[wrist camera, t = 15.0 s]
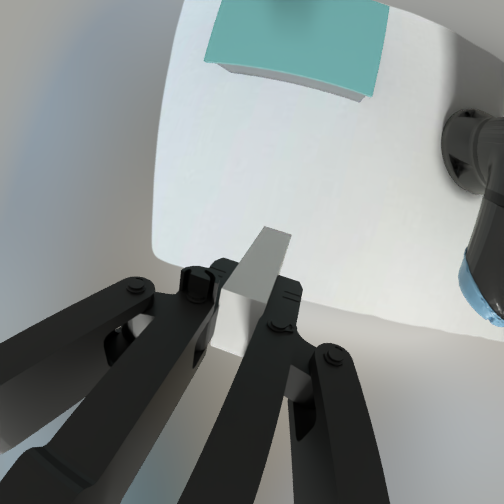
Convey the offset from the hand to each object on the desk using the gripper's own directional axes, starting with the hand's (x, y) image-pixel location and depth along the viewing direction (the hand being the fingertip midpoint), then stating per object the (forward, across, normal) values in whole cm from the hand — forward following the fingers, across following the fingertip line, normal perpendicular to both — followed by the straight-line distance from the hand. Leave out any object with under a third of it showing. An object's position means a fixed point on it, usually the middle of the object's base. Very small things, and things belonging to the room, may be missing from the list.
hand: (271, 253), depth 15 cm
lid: (+25, -6, +23) cm, 34 cm away
